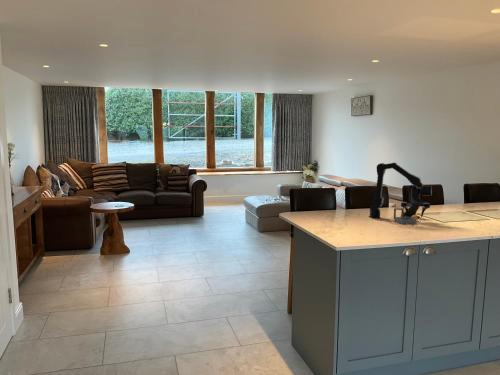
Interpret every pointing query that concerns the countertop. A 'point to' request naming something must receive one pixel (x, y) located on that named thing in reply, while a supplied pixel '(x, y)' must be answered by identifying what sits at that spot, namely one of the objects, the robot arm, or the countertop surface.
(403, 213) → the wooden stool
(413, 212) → the sculpture
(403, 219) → the tray
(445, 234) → the countertop surface
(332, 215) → the countertop surface
